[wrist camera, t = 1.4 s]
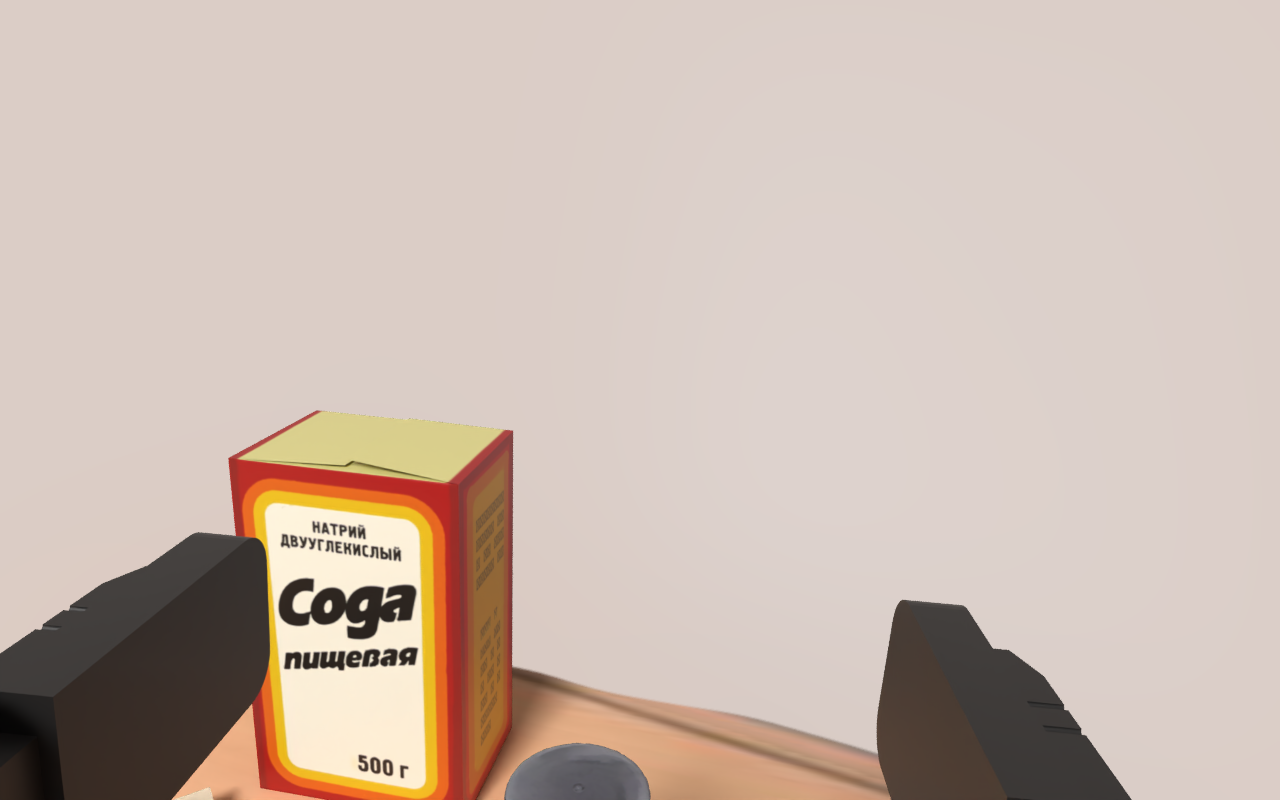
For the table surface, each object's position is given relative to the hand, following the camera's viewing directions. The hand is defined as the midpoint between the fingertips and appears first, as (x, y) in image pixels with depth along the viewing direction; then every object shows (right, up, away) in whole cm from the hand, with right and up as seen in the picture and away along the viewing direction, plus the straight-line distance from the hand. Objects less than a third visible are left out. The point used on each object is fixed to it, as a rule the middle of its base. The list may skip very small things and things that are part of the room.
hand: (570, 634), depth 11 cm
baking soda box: (-11, -14, +30) cm, 35 cm away
